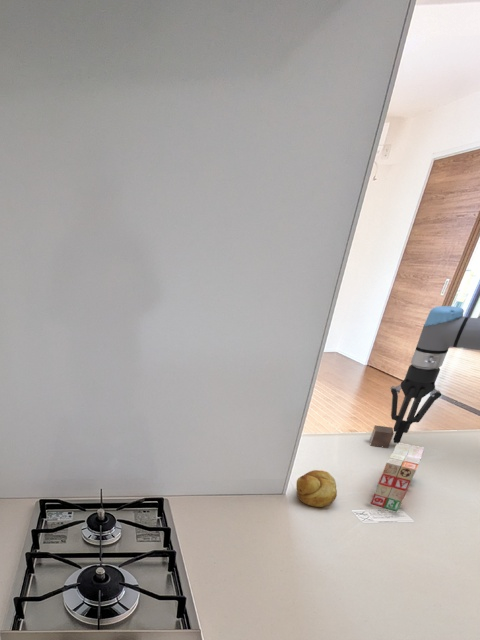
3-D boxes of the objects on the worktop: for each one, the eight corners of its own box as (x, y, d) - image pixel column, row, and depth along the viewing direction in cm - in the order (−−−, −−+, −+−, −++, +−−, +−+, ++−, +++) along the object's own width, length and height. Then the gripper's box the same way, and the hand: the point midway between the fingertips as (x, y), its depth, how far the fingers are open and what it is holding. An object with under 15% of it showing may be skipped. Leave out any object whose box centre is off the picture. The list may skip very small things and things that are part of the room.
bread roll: (301, 482, 123) (308, 456, 118) (338, 491, 118) (347, 465, 114) (289, 503, 114) (296, 477, 110) (329, 514, 110) (338, 487, 105)
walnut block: (387, 441, 142) (392, 427, 139) (388, 448, 138) (393, 433, 135) (369, 439, 144) (374, 425, 141) (370, 445, 140) (375, 431, 137)
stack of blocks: (387, 471, 126) (402, 431, 119) (412, 477, 123) (429, 437, 116) (370, 503, 113) (386, 461, 106) (397, 512, 109) (416, 469, 102)
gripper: (400, 367, 125) (373, 442, 138) (455, 371, 120) (421, 449, 133) (397, 360, 130) (372, 433, 143) (450, 364, 125) (418, 439, 139)
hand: (396, 441), depth 138 cm, fingers closed
